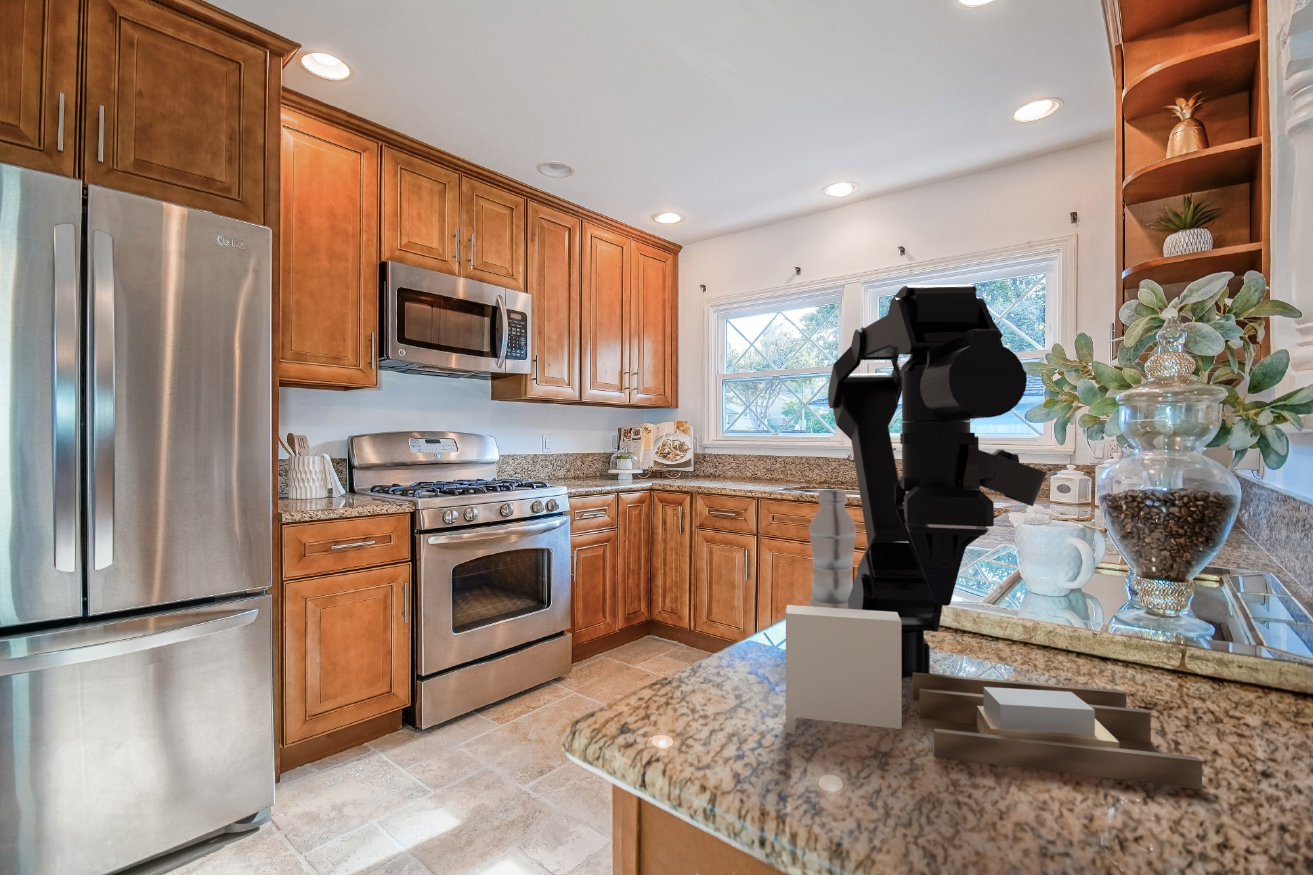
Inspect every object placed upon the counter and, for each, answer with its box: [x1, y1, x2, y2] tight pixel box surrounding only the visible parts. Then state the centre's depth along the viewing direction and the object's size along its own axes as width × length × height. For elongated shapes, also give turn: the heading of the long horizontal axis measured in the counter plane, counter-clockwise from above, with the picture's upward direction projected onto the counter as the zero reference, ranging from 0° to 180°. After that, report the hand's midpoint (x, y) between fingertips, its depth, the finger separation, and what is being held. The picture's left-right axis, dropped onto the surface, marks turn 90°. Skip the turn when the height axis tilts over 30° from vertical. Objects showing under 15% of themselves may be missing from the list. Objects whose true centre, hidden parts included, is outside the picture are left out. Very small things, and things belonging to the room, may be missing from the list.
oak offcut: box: [977, 706, 1119, 748], centre depth 51 cm, size 9×4×2 cm, turn 76°
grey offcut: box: [984, 687, 1095, 735], centre depth 51 cm, size 7×4×2 cm, turn 82°
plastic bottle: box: [808, 489, 857, 609], centre depth 86 cm, size 6×7×20 cm
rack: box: [909, 672, 1203, 790], centre depth 54 cm, size 18×14×4 cm
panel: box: [785, 604, 903, 735], centre depth 57 cm, size 10×3×11 cm, turn 76°
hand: (935, 592), depth 57 cm, fingers open, 9 cm apart
